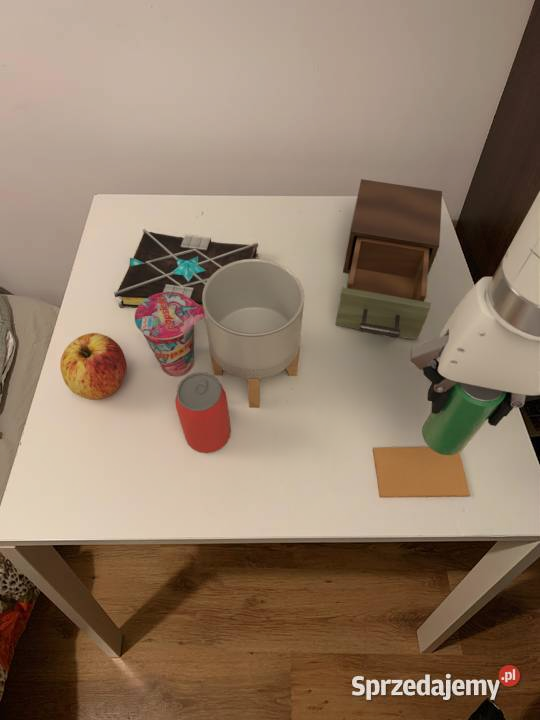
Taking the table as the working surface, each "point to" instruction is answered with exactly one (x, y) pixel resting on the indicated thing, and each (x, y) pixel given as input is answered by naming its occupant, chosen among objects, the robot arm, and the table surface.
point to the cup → (170, 329)
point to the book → (176, 266)
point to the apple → (93, 366)
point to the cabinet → (396, 217)
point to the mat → (419, 473)
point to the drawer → (386, 289)
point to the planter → (253, 321)
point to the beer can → (203, 412)
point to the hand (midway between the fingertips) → (463, 407)
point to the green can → (460, 417)
